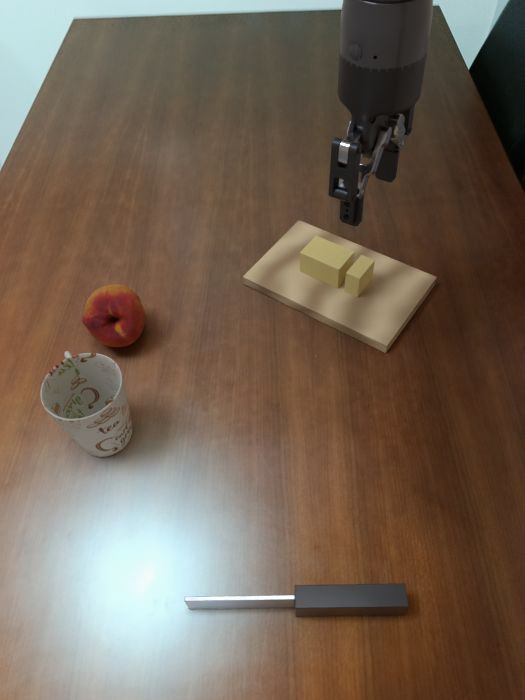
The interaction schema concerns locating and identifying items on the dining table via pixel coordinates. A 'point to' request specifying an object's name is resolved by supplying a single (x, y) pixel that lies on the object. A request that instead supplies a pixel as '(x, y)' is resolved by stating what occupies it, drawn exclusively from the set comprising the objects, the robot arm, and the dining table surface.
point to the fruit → (114, 315)
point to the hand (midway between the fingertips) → (368, 200)
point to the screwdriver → (319, 600)
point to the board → (342, 289)
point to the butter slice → (359, 275)
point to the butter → (326, 261)
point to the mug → (89, 402)
